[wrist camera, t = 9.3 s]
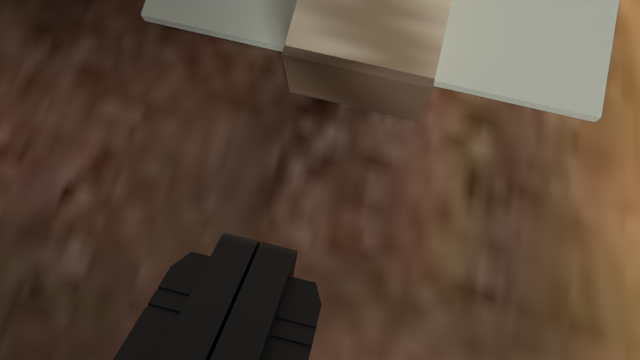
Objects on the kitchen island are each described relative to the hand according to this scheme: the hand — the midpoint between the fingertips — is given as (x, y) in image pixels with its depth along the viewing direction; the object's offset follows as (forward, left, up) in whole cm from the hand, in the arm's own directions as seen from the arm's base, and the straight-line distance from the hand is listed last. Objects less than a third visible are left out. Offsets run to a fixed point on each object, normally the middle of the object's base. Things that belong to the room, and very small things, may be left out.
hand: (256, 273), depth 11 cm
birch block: (0, +8, -11) cm, 14 cm away
